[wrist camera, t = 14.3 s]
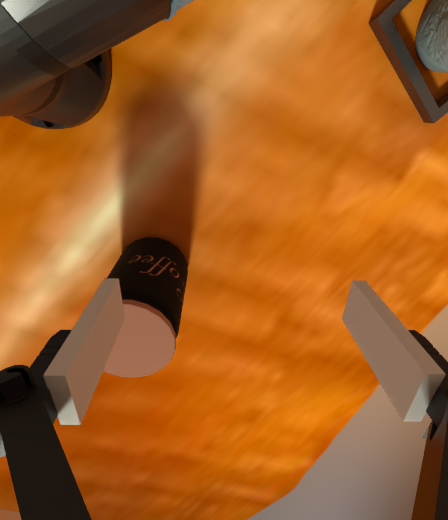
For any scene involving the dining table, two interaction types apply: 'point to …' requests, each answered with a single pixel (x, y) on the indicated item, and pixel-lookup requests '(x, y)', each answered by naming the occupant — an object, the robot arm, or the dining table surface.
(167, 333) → the coffee jar
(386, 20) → the square hollow frame
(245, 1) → the dining table surface
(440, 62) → the grey cup
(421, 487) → the robot arm
